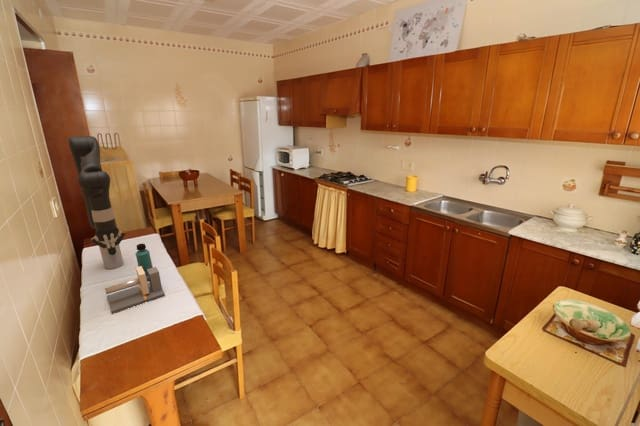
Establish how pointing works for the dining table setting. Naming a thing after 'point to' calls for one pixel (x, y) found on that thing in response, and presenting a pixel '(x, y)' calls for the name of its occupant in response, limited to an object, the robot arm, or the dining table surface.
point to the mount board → (137, 294)
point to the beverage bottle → (143, 258)
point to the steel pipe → (124, 285)
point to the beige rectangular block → (142, 280)
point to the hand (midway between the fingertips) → (112, 254)
